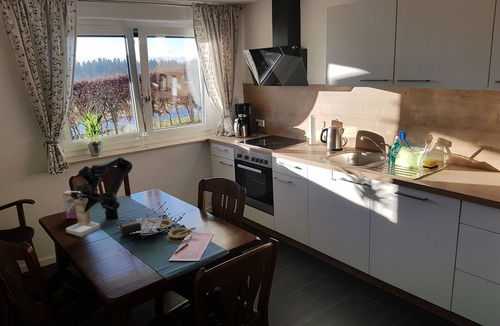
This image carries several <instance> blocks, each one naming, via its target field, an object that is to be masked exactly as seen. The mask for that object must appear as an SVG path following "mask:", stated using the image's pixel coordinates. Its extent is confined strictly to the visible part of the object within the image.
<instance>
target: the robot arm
mask: <svg viewBox="0 0 500 326" xmlns="http://www.w3.org/2000/svg"><path fill="white" fill-rule="evenodd" d="M114 167H116V170H117V173H116V175H115V177H114V179H113V181H112V183H111V185H110V187H109V190H108V191H107V192H104V193H102V194H101V193H96V192H98V190H99V189H98V187H99V183H100V182H101V183H102V182H103V179H102V178H103V177H102V176H104V175H105V174H107V173H108V171H109V170H110V169H112V168H114ZM132 169H133V163H132V162H131V161H129V160H126V159H125V158H123V157H122V156H114V157H113V158H111V159H109V160H106V161H105V162H103V163H97V164H93V165H91V167H89V166H87V165H85V166H84V167H83V168H81V169H80V170H79V171H78V172H77V175H78V177H80V178H81V179H82V180H84V181H85V182H86V184H84V185H76V189H75V190H76V191H80V193H82V194H80V193H79V192H71V194H70V196H71V197H72V198H74V199H75V200H77V199H79V198H87V201H88V203H87V205H86V208H85V212H87V211H88V210H89V211H90V209H91V208H93V206H95V205H96V204H98V203H100V206H101V208H102V209H103V210H104V209H105V210H104V214H105V219H106V221H110V220H115V219H119V215H118V209H119V208H120V205H121V203H120V202H118V198H117V195H118V192H119V190H120V188H121V186H122V183H123V181H124V179H125V177H126V176H127V175H128V174H130V172H131V171H132Z"/></svg>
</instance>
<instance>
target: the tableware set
mask: <svg viewBox="0 0 500 326" xmlns="http://www.w3.org/2000/svg"><path fill="white" fill-rule="evenodd" d="M161 219H162V224H161V226H162V227H159V229H167V228H170V226H172V225H173V224H174V221H173V220H172V219H169V218H168V219H167V218H161ZM156 221H157V220H153V219H151V218H148V219H147V222H150V223H152V224H153V223H157V222H156ZM194 230H196V226H194V227H193V226H192V227H191V228H186V227H175V228H174V229H171V230H167V231H166V232H165V233H167V236H166V240H167V241H168V242H171V243H174V244H176V242H179V243H183V242H182V241H183V240H184V238H185V237H186V236H187V235H189V234H190V233H191V231H194ZM168 231H169V232H168Z"/></svg>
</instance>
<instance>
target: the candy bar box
mask: <svg viewBox="0 0 500 326" xmlns="http://www.w3.org/2000/svg"><path fill="white" fill-rule="evenodd" d="M71 192H79V193H80V191H74V190H66V191H65V192H62V199H63V204H64V211H65V215H66V219H73V220H74V219H75V220H78V219H77V213H76V208H75V202H74V201H75V199H74V198H72V197H71V196H70V194H71ZM80 194H82V193H80Z"/></svg>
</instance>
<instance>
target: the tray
mask: <svg viewBox="0 0 500 326" xmlns="http://www.w3.org/2000/svg"><path fill="white" fill-rule="evenodd" d="M99 229H101V223H99V222H98V223H97V222H95V221H91V223H89V224H87V225H86V226H83V225H79V224H78V222H77V223H76V224H72V225H70V226H68V227H66V228H65V231H66V233H67V234H71V235H74V236H77V237H79V238H82V237H84V236H86V235H90V233H93V232H94V231H95V232H96V231H97V230H99Z"/></svg>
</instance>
